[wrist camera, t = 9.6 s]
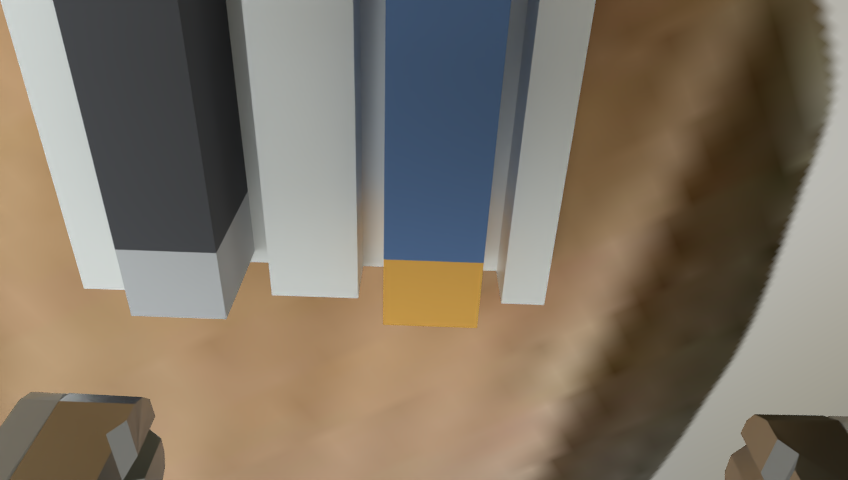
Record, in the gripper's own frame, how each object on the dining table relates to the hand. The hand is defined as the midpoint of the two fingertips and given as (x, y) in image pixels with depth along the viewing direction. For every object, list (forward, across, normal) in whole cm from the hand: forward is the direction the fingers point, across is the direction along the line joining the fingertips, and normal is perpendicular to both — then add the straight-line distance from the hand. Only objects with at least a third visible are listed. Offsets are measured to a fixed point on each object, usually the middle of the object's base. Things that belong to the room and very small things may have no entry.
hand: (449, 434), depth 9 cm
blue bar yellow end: (+14, 0, +1) cm, 14 cm away
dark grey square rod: (+14, +8, +1) cm, 16 cm away
